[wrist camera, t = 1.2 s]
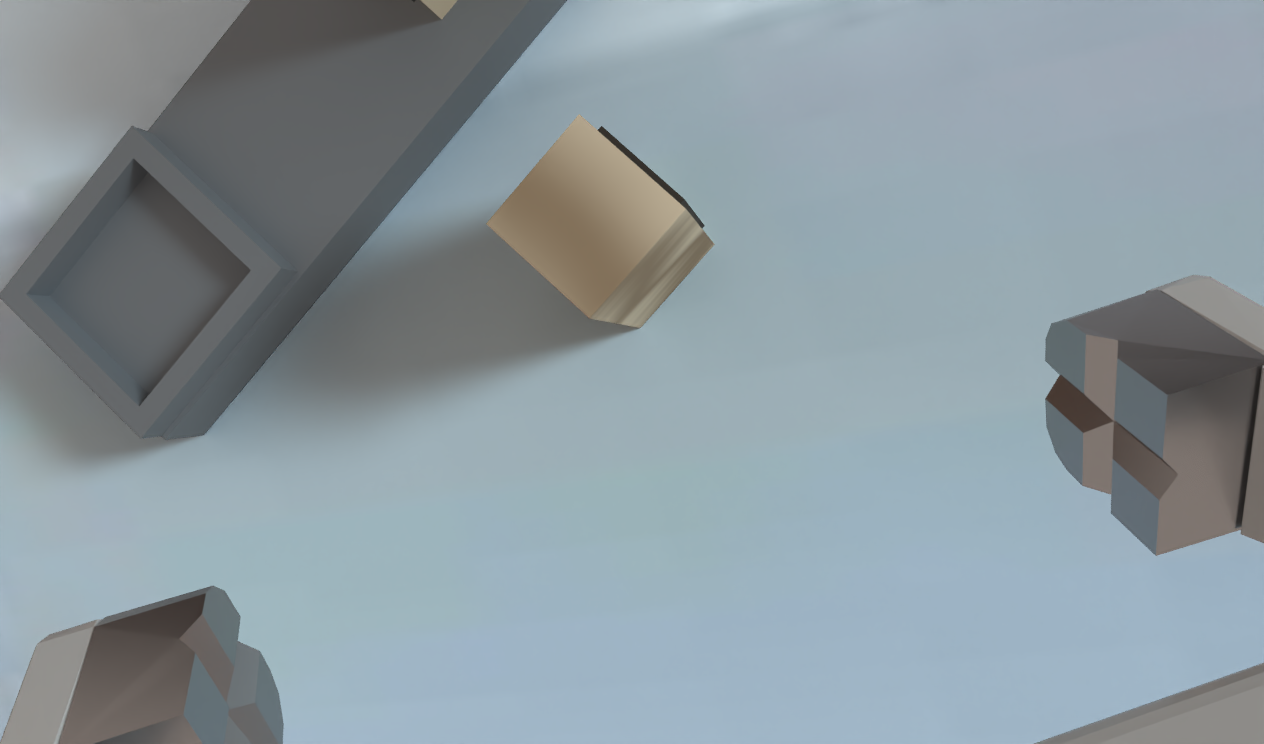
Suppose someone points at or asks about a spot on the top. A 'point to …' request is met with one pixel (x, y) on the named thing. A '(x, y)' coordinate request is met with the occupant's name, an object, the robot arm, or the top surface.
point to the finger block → (602, 227)
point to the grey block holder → (255, 194)
